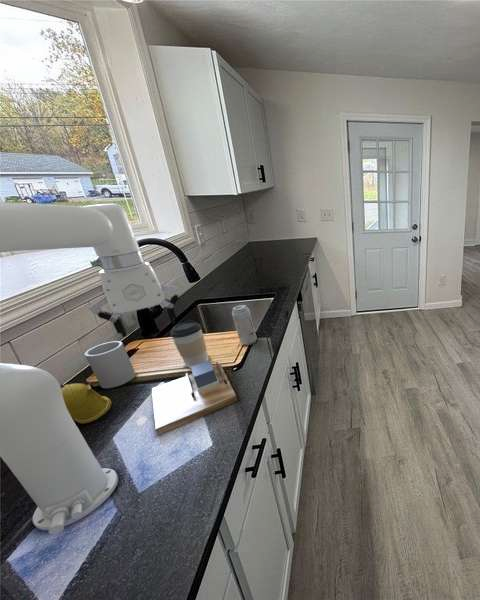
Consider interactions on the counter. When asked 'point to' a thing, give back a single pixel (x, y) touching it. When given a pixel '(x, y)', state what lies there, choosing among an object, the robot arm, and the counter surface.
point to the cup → (110, 364)
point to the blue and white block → (204, 376)
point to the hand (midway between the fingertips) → (149, 327)
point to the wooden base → (189, 400)
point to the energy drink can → (244, 325)
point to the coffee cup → (190, 342)
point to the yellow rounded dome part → (84, 402)
